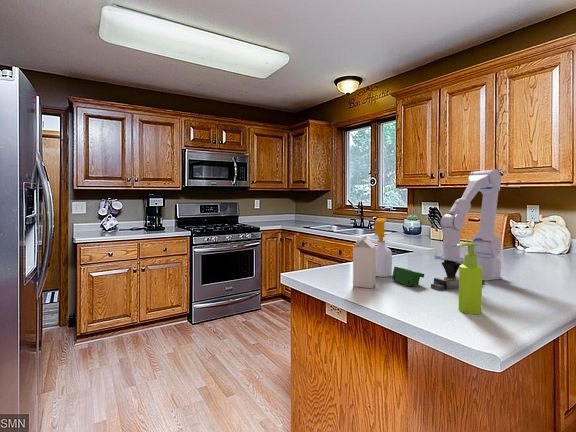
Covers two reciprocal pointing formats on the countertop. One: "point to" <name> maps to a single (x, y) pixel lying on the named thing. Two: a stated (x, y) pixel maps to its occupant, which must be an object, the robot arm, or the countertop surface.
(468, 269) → the soap dispenser
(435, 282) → the chain end blocks
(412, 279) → the green angular piece
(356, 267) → the milk carton
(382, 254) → the soap bottle
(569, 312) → the countertop surface
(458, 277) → the light wood block
